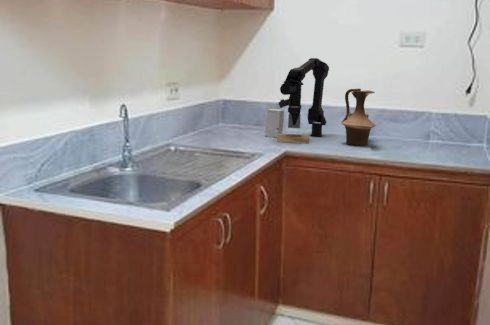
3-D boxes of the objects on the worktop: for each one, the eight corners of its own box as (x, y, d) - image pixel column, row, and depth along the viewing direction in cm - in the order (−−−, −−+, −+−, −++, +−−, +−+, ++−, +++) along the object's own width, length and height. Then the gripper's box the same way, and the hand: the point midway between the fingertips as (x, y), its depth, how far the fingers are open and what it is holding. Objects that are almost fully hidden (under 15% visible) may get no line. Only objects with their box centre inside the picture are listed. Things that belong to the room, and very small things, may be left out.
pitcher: (333, 144, 252) (337, 87, 247) (346, 140, 266) (350, 87, 261) (367, 147, 243) (372, 89, 238) (378, 144, 257) (383, 89, 252)
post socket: (278, 138, 269) (279, 133, 269) (308, 139, 267) (309, 134, 267) (277, 141, 255) (277, 137, 255) (308, 143, 253) (308, 138, 253)
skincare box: (264, 136, 274) (265, 109, 271) (269, 135, 279) (270, 108, 276) (278, 137, 270) (280, 110, 267) (283, 136, 275) (284, 109, 272)
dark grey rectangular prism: (288, 126, 262) (289, 113, 261) (300, 127, 262) (300, 113, 260) (288, 127, 258) (288, 114, 257) (299, 128, 258) (300, 114, 256)
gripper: (280, 92, 267) (279, 121, 270) (278, 94, 249) (277, 126, 252) (301, 93, 265) (300, 122, 268) (301, 95, 247) (299, 127, 250)
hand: (294, 124), depth 260 cm, fingers closed on dark grey rectangular prism, 4 cm apart
